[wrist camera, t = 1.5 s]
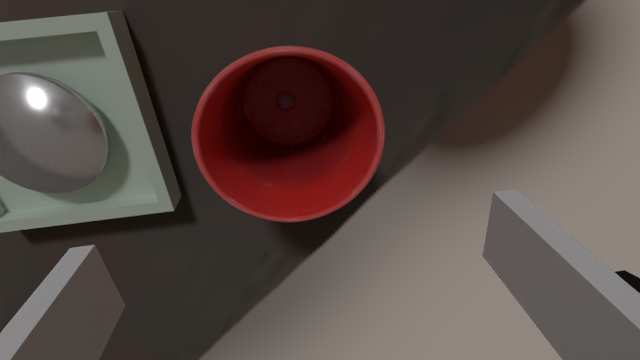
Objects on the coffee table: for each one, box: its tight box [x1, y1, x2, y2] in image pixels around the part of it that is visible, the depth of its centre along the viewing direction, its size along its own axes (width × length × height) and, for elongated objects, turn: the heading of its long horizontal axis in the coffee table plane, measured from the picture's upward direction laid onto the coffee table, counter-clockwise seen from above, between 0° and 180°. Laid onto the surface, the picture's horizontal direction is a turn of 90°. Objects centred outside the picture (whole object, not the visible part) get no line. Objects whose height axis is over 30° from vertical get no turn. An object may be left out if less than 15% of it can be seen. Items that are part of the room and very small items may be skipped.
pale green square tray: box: [0, 10, 182, 233], centre depth 27 cm, size 15×15×2 cm
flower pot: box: [191, 46, 385, 222], centre depth 24 cm, size 11×11×10 cm
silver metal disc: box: [0, 72, 110, 193], centre depth 26 cm, size 9×9×1 cm
